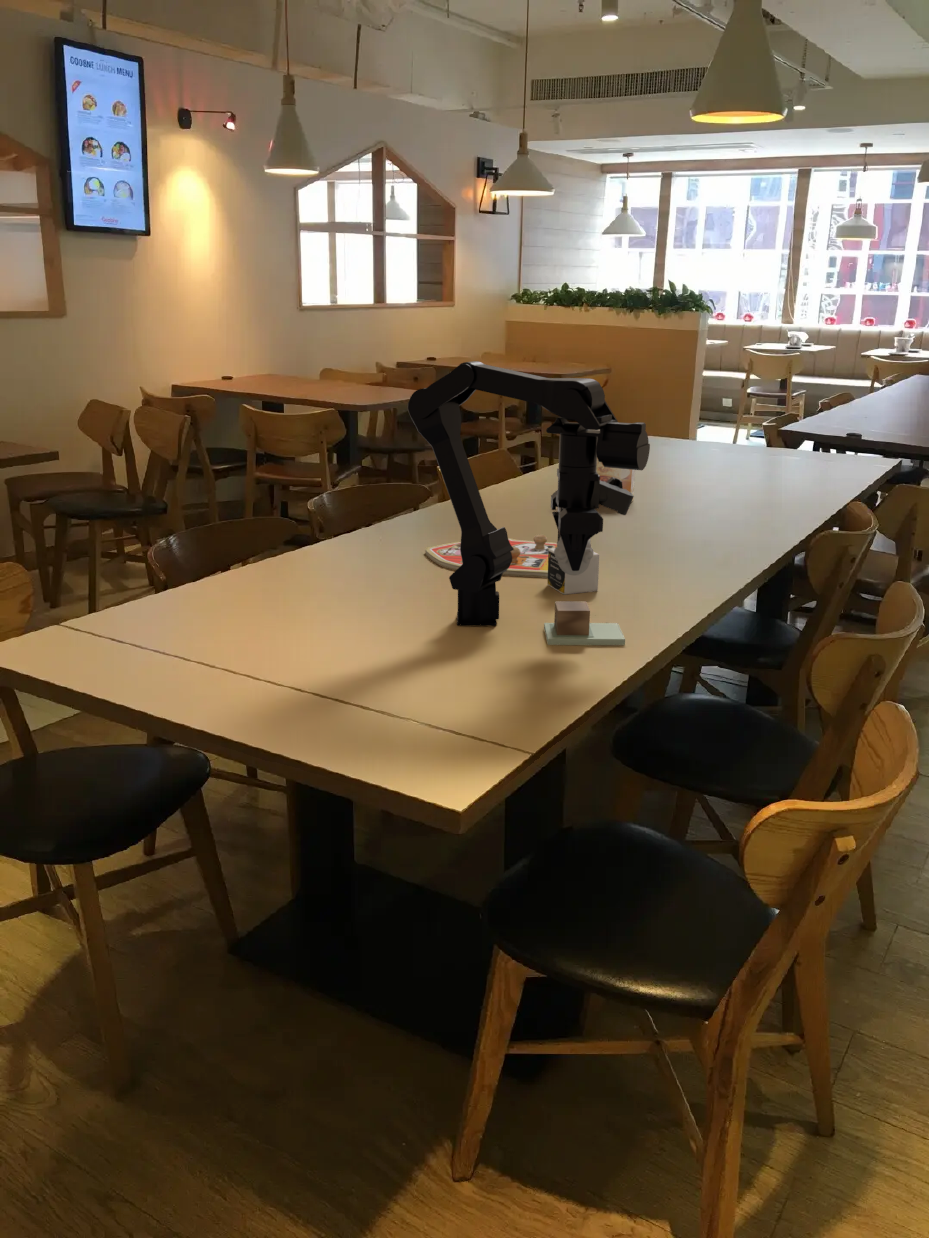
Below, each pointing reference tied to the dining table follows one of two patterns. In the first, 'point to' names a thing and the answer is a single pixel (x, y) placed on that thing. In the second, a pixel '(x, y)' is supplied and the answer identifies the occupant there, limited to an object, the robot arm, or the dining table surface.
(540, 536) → the knob puzzle
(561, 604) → the walnut block
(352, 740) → the dining table surface
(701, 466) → the dining table surface
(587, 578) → the medicine bottle
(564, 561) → the grey lumpy rounded piece
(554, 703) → the dining table surface
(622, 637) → the base board
